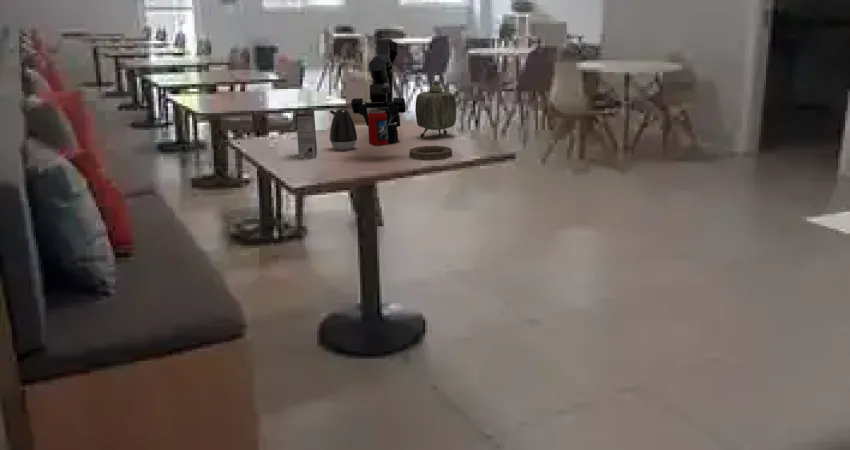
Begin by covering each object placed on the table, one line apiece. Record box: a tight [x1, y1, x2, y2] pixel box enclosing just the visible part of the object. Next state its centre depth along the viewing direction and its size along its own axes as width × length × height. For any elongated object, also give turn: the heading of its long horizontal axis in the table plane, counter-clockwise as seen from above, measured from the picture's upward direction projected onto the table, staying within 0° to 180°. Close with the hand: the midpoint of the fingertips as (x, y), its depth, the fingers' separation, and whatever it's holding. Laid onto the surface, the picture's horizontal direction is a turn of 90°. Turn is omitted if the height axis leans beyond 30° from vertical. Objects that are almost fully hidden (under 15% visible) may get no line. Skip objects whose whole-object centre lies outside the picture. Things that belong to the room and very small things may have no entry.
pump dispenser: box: [329, 108, 358, 151], centre depth 307 cm, size 10×10×15 cm
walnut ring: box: [409, 145, 453, 161], centre depth 293 cm, size 15×15×2 cm
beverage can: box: [367, 109, 388, 147], centre depth 287 cm, size 7×7×12 cm
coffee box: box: [295, 109, 318, 160], centre depth 296 cm, size 9×6×16 cm
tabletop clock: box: [415, 72, 457, 138], centre depth 323 cm, size 14×9×25 cm, turn 121°
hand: (377, 125), depth 285 cm, fingers closed on beverage can, 7 cm apart
